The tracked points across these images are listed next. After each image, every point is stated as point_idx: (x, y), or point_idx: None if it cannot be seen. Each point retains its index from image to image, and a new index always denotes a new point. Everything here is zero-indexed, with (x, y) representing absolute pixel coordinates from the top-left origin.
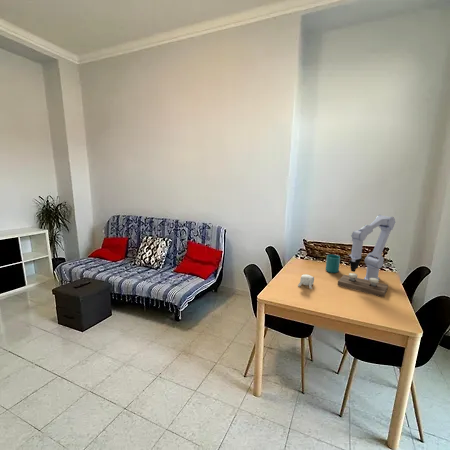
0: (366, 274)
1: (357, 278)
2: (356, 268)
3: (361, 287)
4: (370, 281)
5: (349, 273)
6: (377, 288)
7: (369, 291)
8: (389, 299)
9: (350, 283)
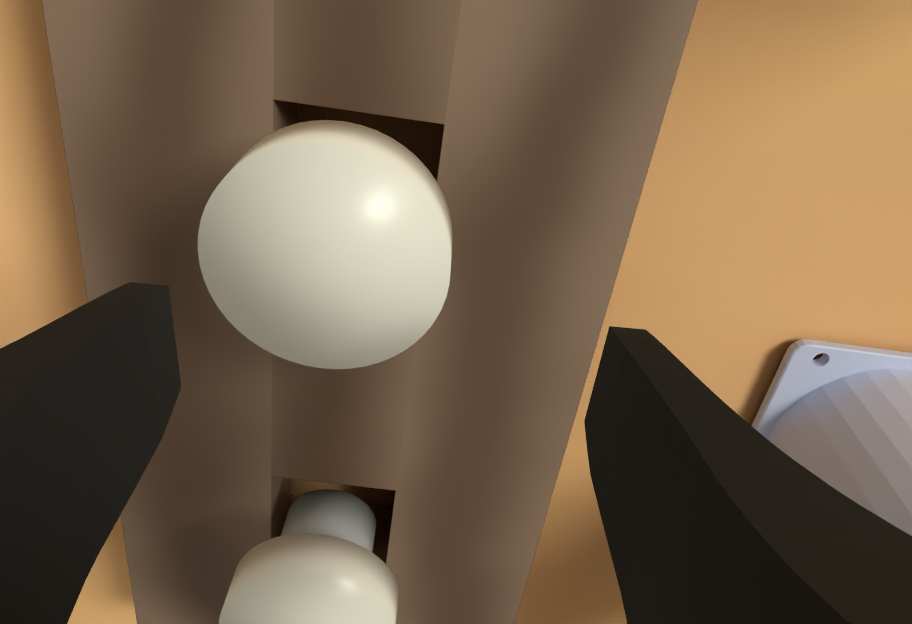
0: (893, 430)
1: (555, 282)
2: (589, 405)
3: None
4: (247, 559)
5: (347, 158)
6: (233, 571)
7: None
8: None
9: (103, 169)
